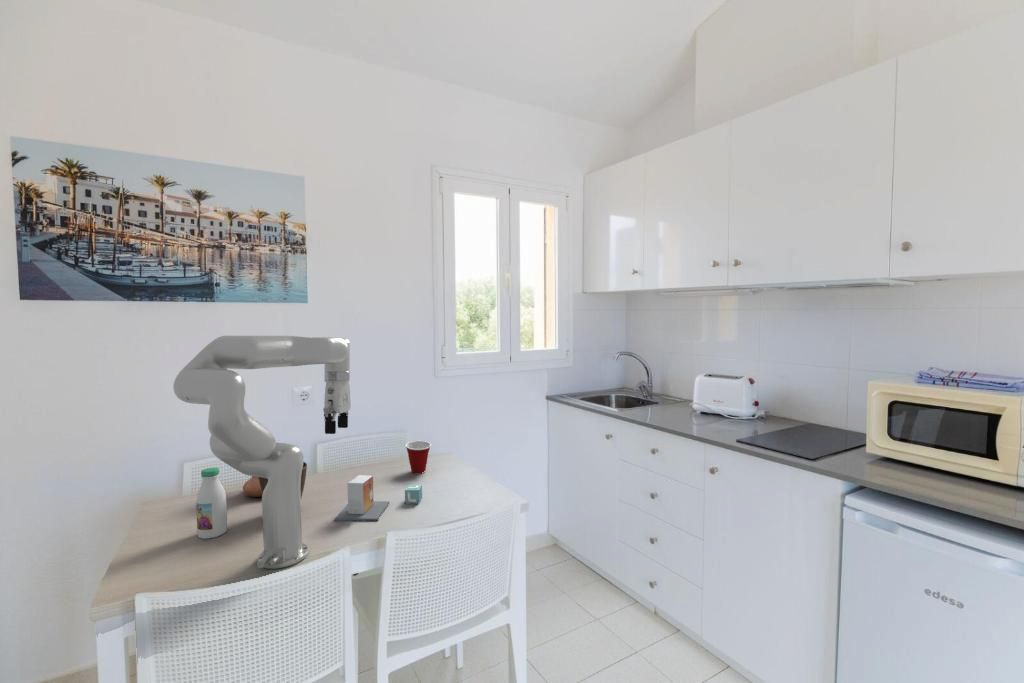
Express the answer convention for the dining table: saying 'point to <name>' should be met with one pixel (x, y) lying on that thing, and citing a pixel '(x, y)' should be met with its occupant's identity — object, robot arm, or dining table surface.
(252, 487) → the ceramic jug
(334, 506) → the dining table surface
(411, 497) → the lettered cube
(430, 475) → the dining table surface
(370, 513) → the slate mat
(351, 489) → the small box
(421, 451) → the plastic cup
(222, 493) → the milk bottle
